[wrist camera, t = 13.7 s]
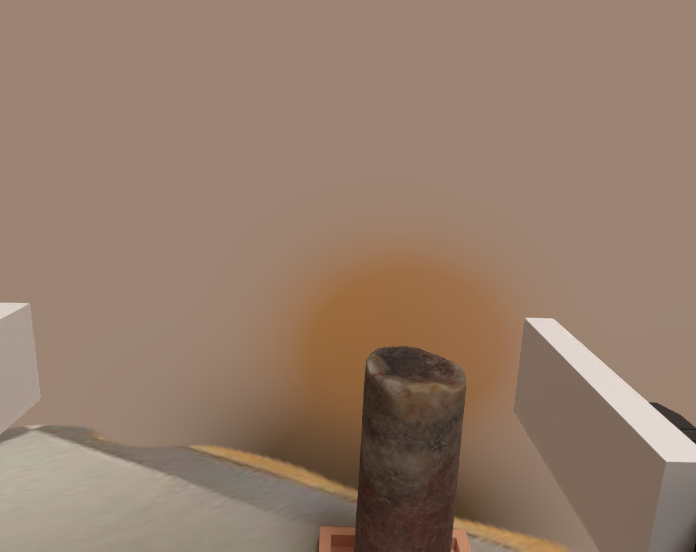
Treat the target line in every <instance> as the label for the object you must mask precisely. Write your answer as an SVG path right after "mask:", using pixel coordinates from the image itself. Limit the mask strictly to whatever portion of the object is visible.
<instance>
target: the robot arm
mask: <svg viewBox="0 0 696 552" xmlns="http://www.w3.org/2000/svg"><path fill="white" fill-rule="evenodd" d="M40 399H41V396H40V387H39V378H38V370H37V361H36V354H35V345H34V336H33V328H32V319H31V311H30V304H29V303H0V434H1V433H2V432H4V431H5V430H6V429H7V428H8V427H9V426H10V425H12V423H14V422H15V421H16V420H17V419H18V418H19V417H20V416H22V415H23V414H24V413H25V412H26V411H27V410H29V409H30V408H31V407H32V406H33V405H34V404H35V403H37V402H38V401H39V400H40ZM514 413H515V414H516V416H517V417H518V419H519V421H520V423H521V424H522V426H523V427H524V429H525V431H526V432H527V434H528V436H529V437H530V439H531V440H532V442H533V444H534V445H535V447H536V449H537V450H538V452H539V454H540V455H541V457H542V458H543V460H544V462H545V463H546V465H547V467H548V468H549V470H550V472H551V473H552V475H553V476H554V478H555V480H556V481H557V483H558V485H559V486H560V488H561V490H562V491H563V493H564V494H565V496H566V498H567V499H568V501H569V502H570V504H571V506H572V507H573V509H574V510H575V512H576V514H577V516H578V517H579V519H580V521H581V522H582V524H583V525H584V527H585V529H586V530H587V532H588V534H589V535H590V537H591V539H592V540H593V542H594V543H595V545H596V547H597V548H598V550H599V552H696V428H695V427H694V426H693V425H692V424H691V423H689V422H688V421H687V420H686V419H685V418H683V417H682V416H681V415H679V414H678V413H675V412H673V411H671V410H670V409H668V408H666V407H664V406H662V405H660V404H658V403H650V402H647V401H646V400H645V399H644V398H643V397H641V396H640V395H639V394H638V393H637V392H636V391H635V390H633V389H632V388H631V387H630V386H629V385H628V384H627V383H626V382H624V381H623V380H622V379H621V378H620V377H619V376H618V375H617V374H615V373H614V372H613V371H612V370H611V369H610V368H609V367H607V366H606V365H605V364H604V363H603V362H602V361H601V360H599V359H598V358H597V357H596V356H595V355H594V354H593V353H592V352H590V351H589V350H588V349H587V348H586V347H585V346H584V345H583V344H581V343H580V342H579V341H578V340H577V339H576V338H575V337H573V336H572V335H571V334H570V333H569V332H568V331H567V330H565V329H564V328H563V327H562V326H561V325H560V324H559V323H558V322H556V321H555V320H554V319H548V318H546V319H545V318H525V320H524V329H523V337H522V345H521V353H520V362H519V370H518V379H517V388H516V396H515V404H514Z"/></svg>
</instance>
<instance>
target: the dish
mask: <svg viewBox="0 0 696 552" xmlns="http://www.w3.org/2000/svg"><path fill="white" fill-rule="evenodd" d="M355 529H356V527H322V526H320V539H319V552H354V541H355ZM451 552H472V551H471V547H470V544H469V541H468V538H467V534H466V531H465V530H453V535H452V546H451Z"/></svg>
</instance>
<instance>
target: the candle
mask: <svg viewBox="0 0 696 552" xmlns="http://www.w3.org/2000/svg"><path fill="white" fill-rule="evenodd" d="M465 392H466V377H465V373H464V371H463V370H462V368H461V367H460V366H459V365H458V364H455V363H454V362H452V361H449V360H446V359H445V358H443V357H440V356H438V355H435V354H431V353H429V352H426V351H423V350H421V349H419V348H414V347H408V346H399V347H388V348H387V347H384V348H377V349H376V350H375V351H374V352H373V353H371V354H370V355H369V357H368V358H367V360H366V370H365V383H364V396H363V416H362V438H361V451H360V470H359V485H358V499H357V513H356V529H355V541H354V552H451V546H452V535H453V522H454V509H455V498H456V488H457V477H458V468H459V455H460V444H461V435H462V423H463V414H464V404H465Z"/></svg>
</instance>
